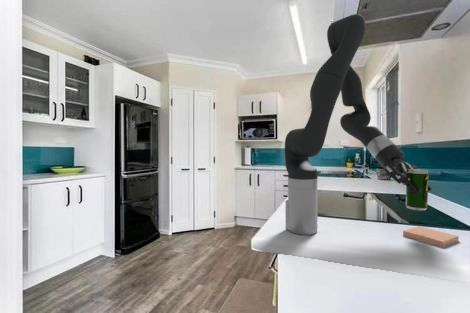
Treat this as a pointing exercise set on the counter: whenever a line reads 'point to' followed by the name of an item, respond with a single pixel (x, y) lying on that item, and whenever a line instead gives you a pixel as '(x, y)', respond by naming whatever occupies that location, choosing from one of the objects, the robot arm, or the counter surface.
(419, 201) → the beer can
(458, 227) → the counter surface
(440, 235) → the tile
